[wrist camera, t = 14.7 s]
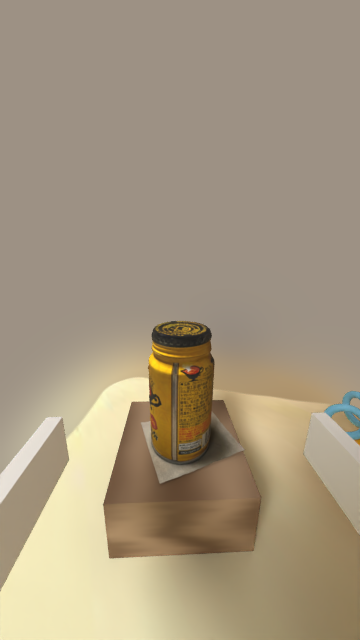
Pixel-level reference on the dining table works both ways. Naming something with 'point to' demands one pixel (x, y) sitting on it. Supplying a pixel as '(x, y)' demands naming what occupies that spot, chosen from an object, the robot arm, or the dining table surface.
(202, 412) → the condiment
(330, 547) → the dining table surface
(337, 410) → the cylinder
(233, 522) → the riser
